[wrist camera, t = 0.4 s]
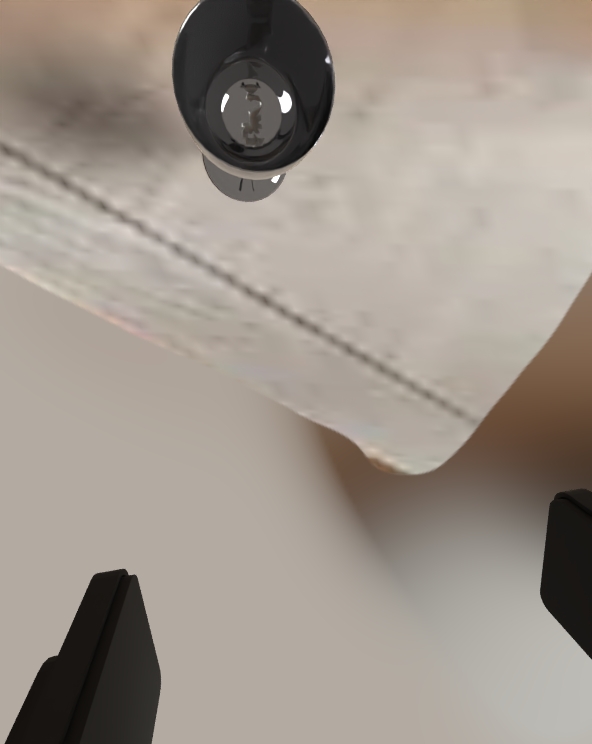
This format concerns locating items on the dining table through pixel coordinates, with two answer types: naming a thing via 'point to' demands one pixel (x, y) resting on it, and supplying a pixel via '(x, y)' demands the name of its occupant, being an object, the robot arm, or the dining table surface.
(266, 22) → the wine glass
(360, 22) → the dining table surface
